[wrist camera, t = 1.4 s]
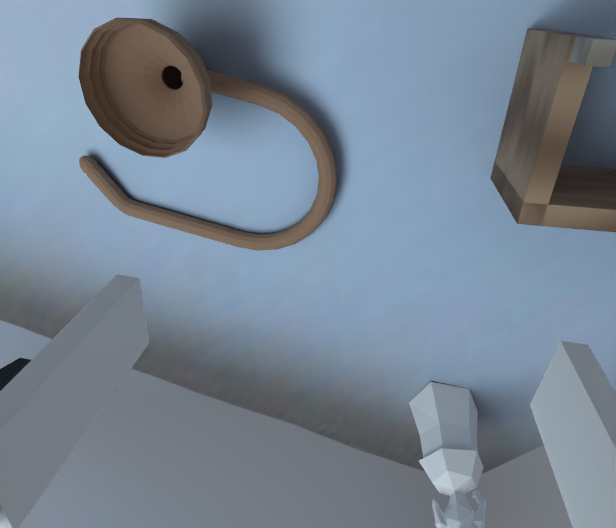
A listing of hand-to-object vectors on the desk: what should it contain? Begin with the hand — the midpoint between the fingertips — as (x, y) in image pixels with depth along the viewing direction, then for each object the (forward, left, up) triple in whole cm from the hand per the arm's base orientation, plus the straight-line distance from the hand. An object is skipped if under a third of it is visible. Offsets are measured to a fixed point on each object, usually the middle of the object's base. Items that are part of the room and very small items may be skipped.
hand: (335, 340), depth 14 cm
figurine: (+30, +11, -27) cm, 42 cm away
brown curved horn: (+1, -14, -27) cm, 30 cm away
